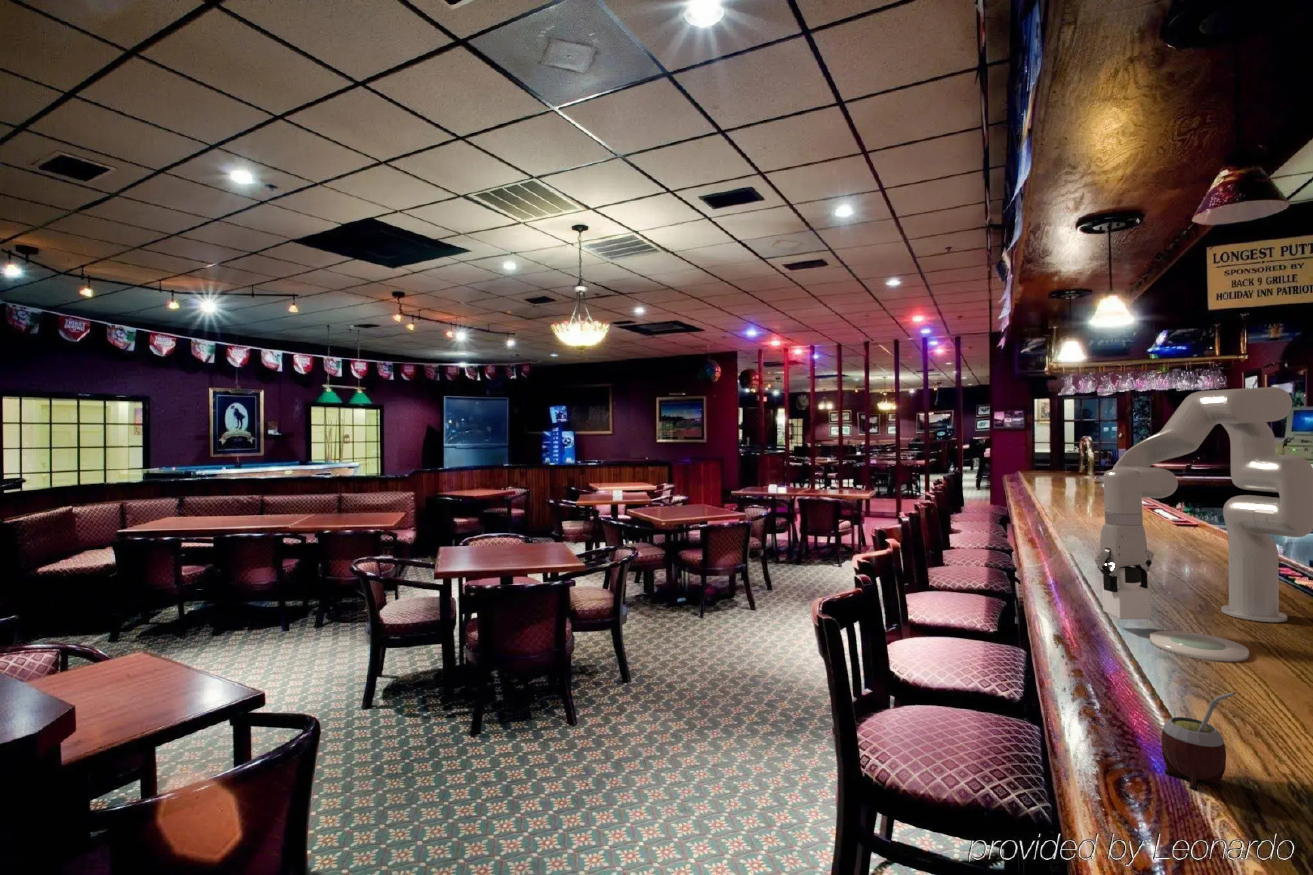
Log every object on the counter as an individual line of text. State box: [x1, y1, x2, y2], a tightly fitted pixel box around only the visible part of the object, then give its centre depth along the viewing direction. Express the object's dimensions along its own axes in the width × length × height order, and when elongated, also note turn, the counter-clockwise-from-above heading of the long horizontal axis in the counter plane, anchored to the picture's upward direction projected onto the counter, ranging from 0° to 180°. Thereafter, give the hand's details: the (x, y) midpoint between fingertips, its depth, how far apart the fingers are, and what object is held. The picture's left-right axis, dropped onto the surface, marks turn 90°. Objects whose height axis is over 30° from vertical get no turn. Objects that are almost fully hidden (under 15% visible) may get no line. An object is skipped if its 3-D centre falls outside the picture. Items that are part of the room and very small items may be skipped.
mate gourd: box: [1161, 691, 1237, 792], centre depth 89 cm, size 8×8×15 cm
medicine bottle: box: [1101, 566, 1152, 620], centre depth 156 cm, size 7×7×12 cm
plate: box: [1149, 630, 1250, 663], centre depth 143 cm, size 17×17×1 cm
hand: (1125, 589), depth 156 cm, fingers closed on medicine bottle, 8 cm apart
